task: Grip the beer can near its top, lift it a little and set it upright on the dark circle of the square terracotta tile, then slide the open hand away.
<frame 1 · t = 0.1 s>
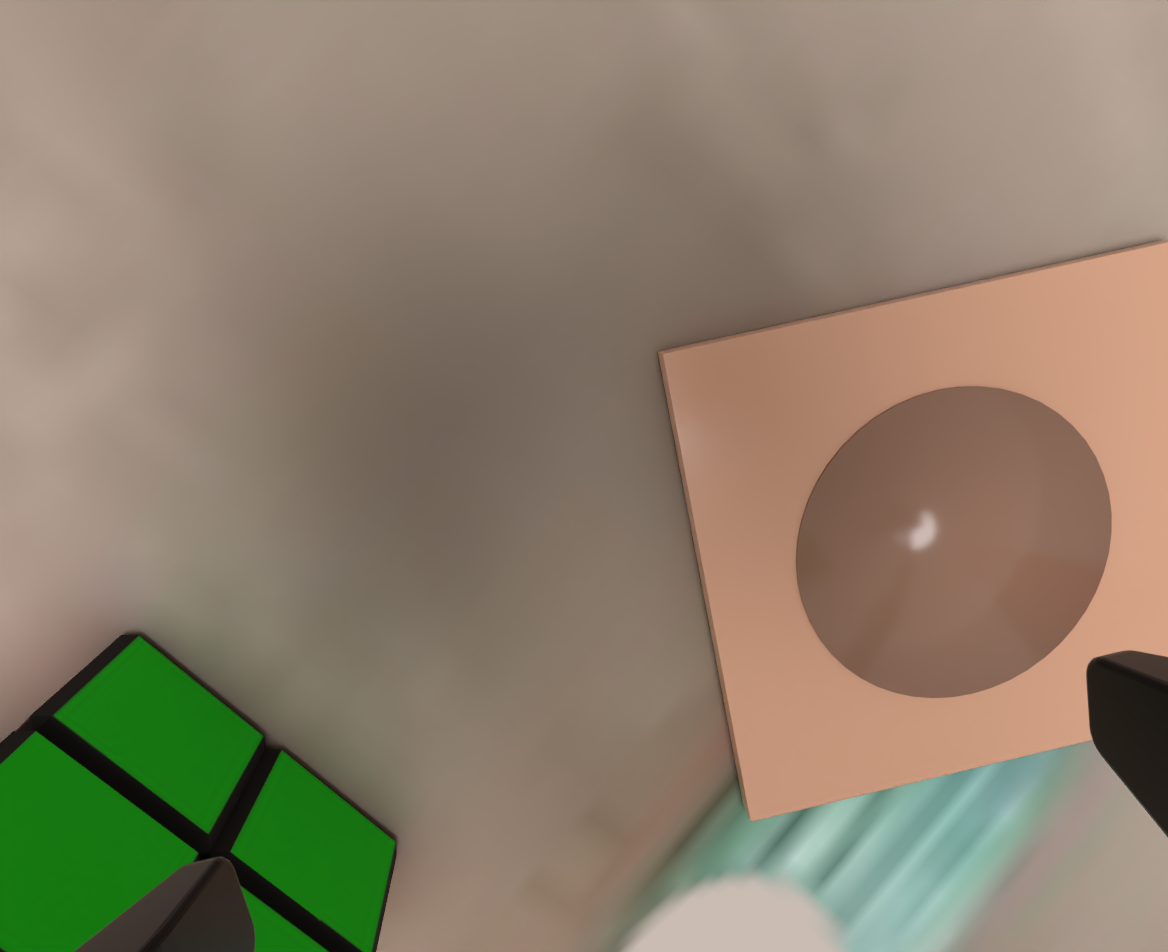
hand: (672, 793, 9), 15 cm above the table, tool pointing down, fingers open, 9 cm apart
terracotta tile: (940, 539, 24), on the table
puzzle cube: (161, 845, 25), on the table
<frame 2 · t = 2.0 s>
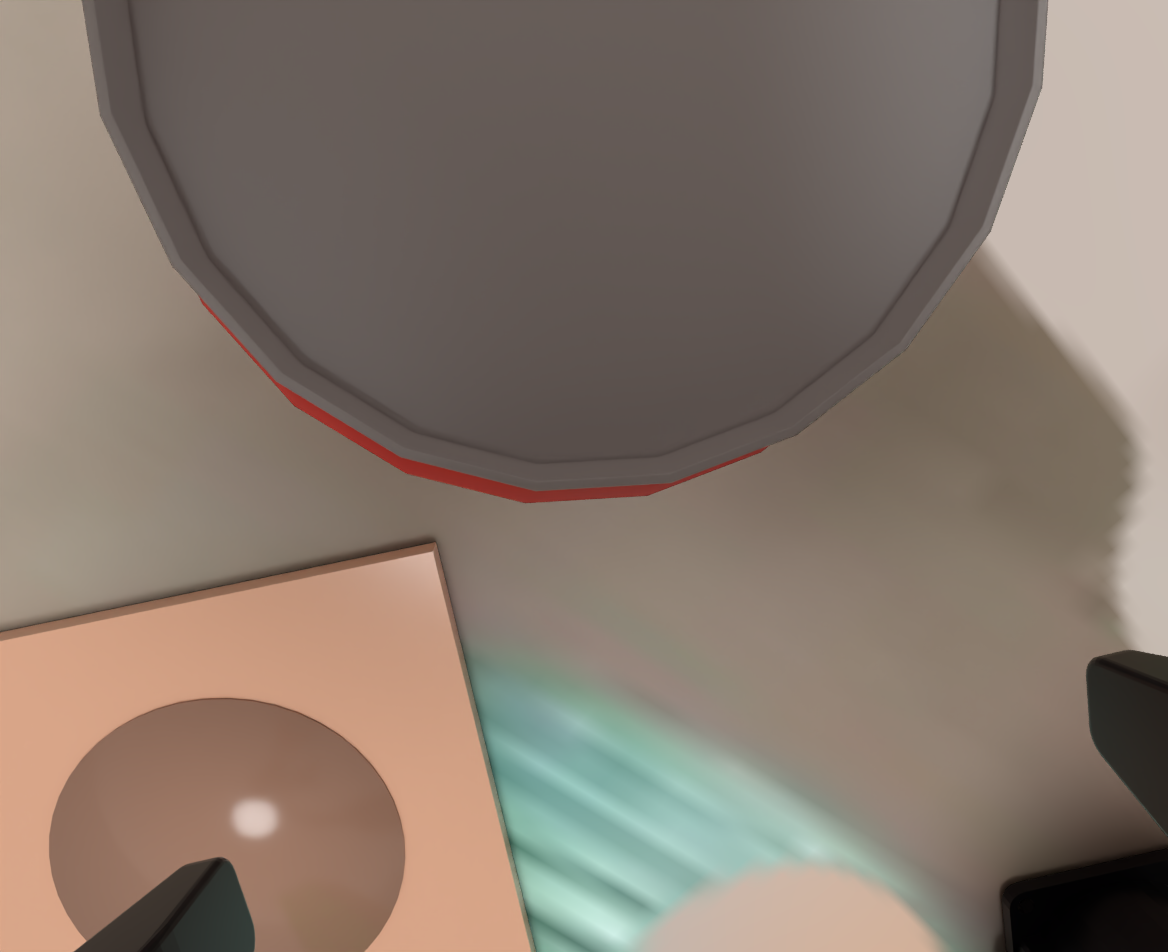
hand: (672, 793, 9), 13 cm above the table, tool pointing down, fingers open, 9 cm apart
beer can: (533, 232, 20), on the table
terracotta tile: (241, 836, 23), on the table
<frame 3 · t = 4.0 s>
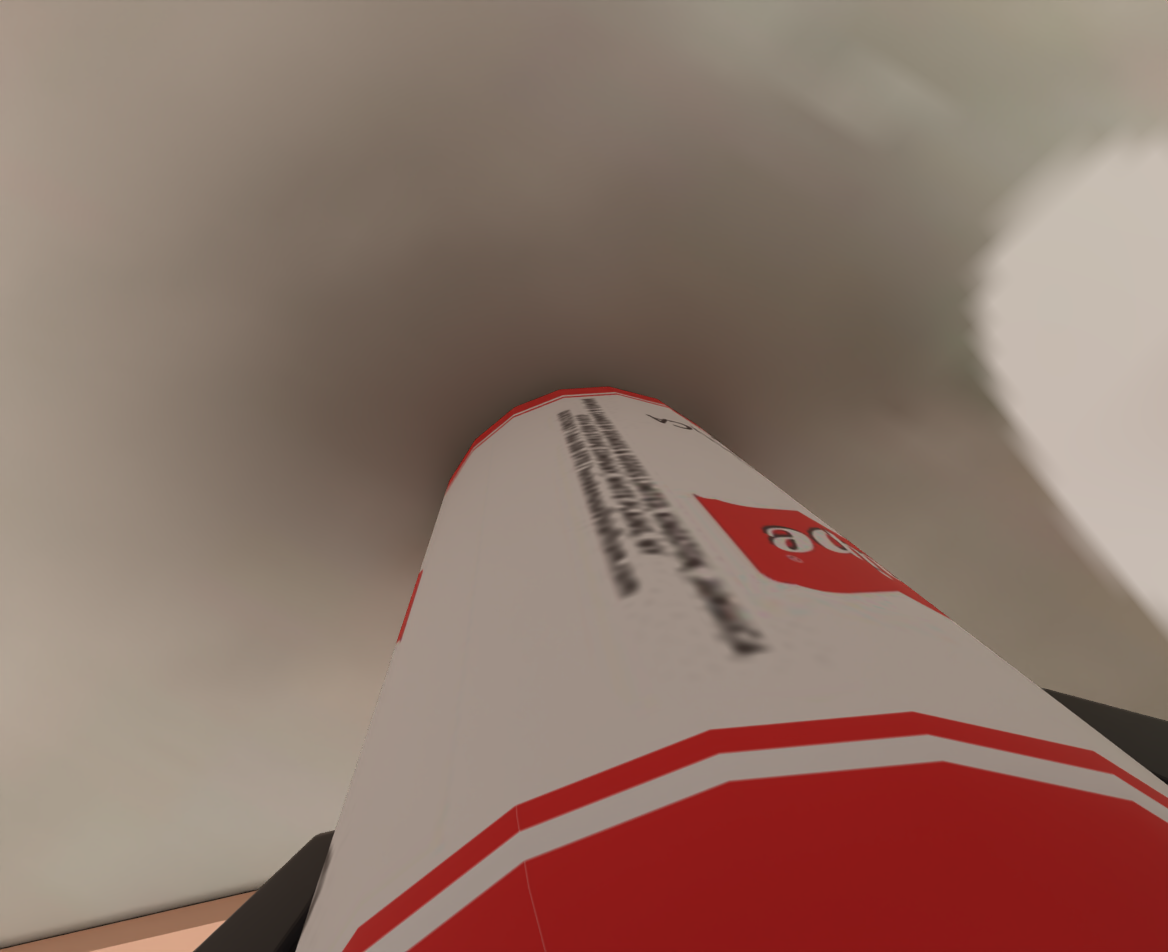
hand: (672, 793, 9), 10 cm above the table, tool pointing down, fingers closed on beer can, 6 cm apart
beer can: (587, 520, 18), on the table, touching gripper
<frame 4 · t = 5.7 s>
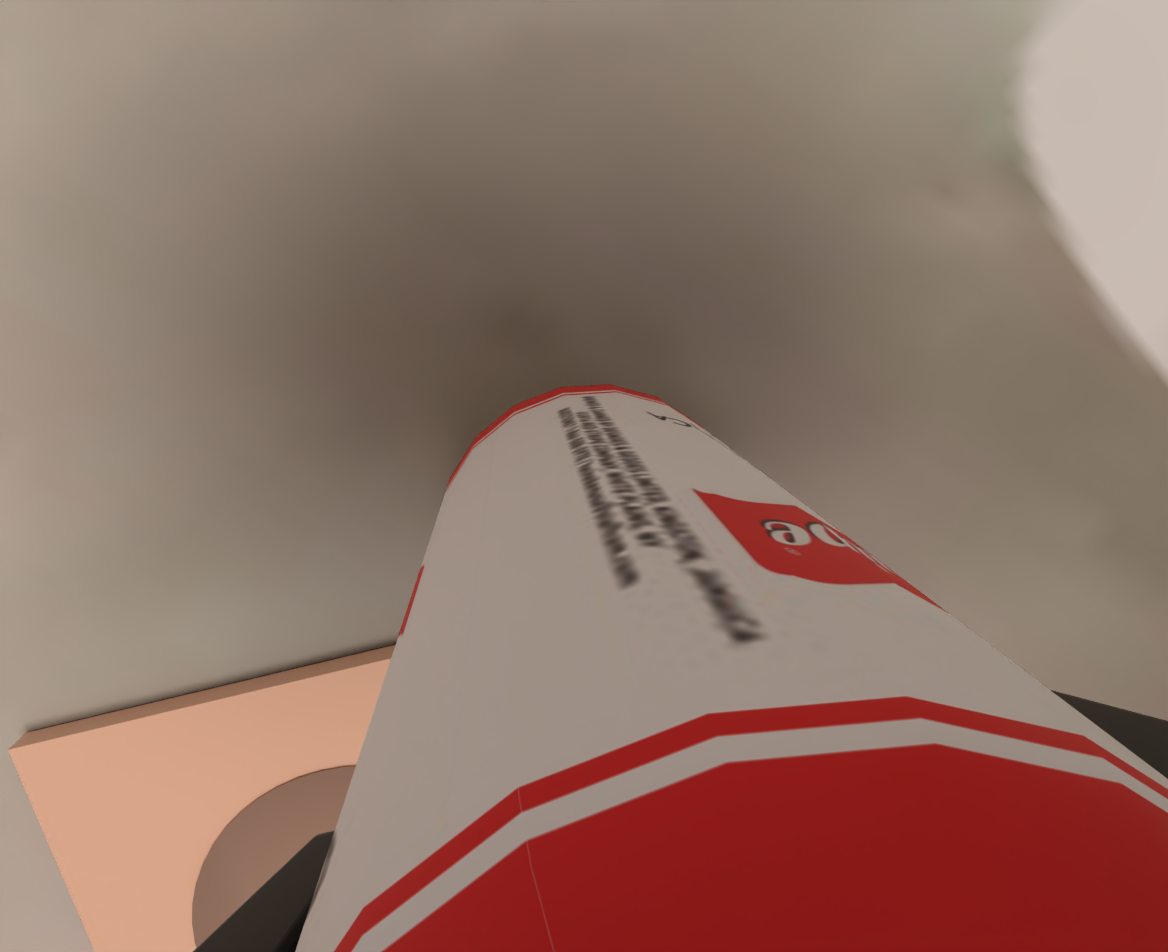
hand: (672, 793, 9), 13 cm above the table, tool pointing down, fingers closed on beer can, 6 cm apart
beer can: (586, 518, 19), point 2 cm above the table, touching gripper
terracotta tile: (374, 895, 23), on the table
when the fingers open (11 cm above the table, at t = 7.6 s): beer can stays where it is, resting on terracotta tile.
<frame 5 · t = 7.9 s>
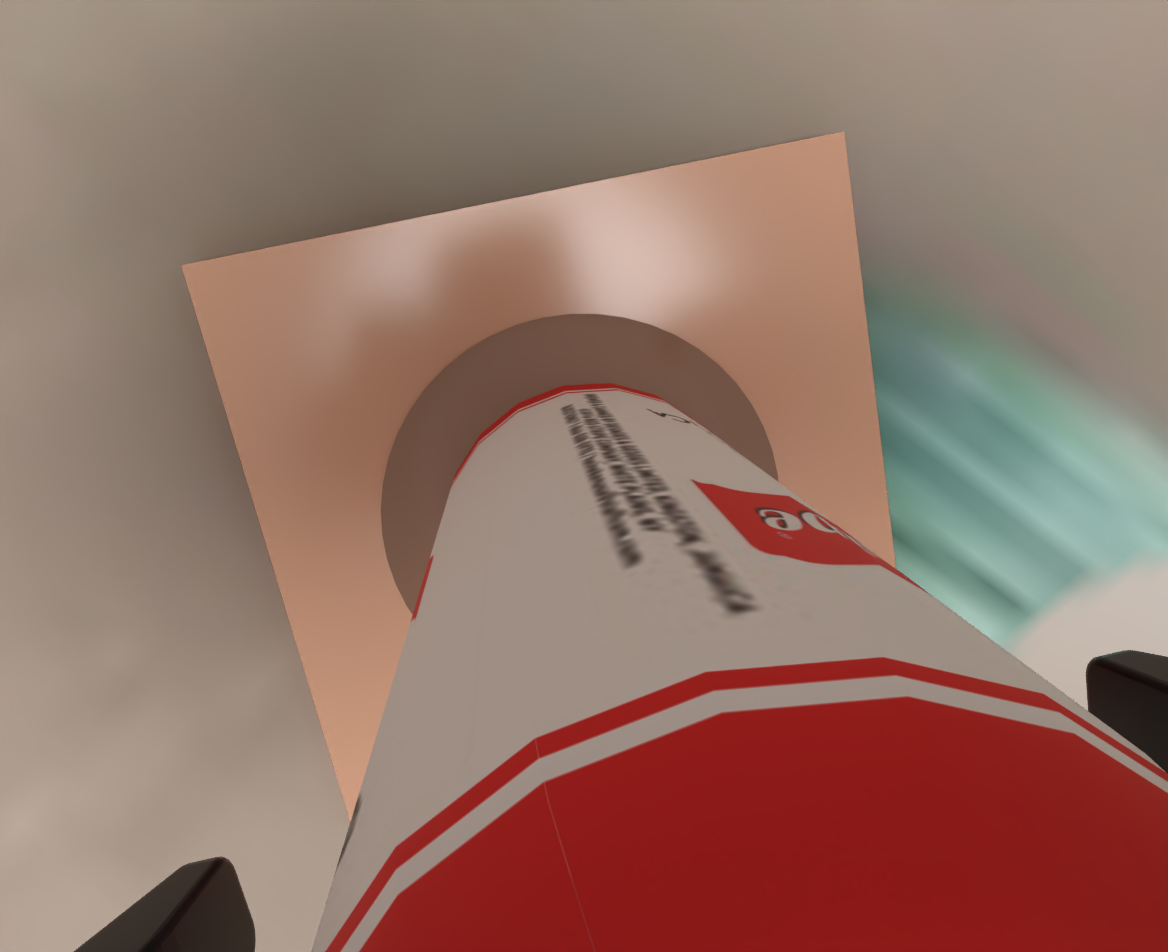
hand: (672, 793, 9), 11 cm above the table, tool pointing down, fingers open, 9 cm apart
beer can: (588, 513, 19), point 1 cm above the table, touching terracotta tile
terracotta tile: (581, 506, 20), on the table
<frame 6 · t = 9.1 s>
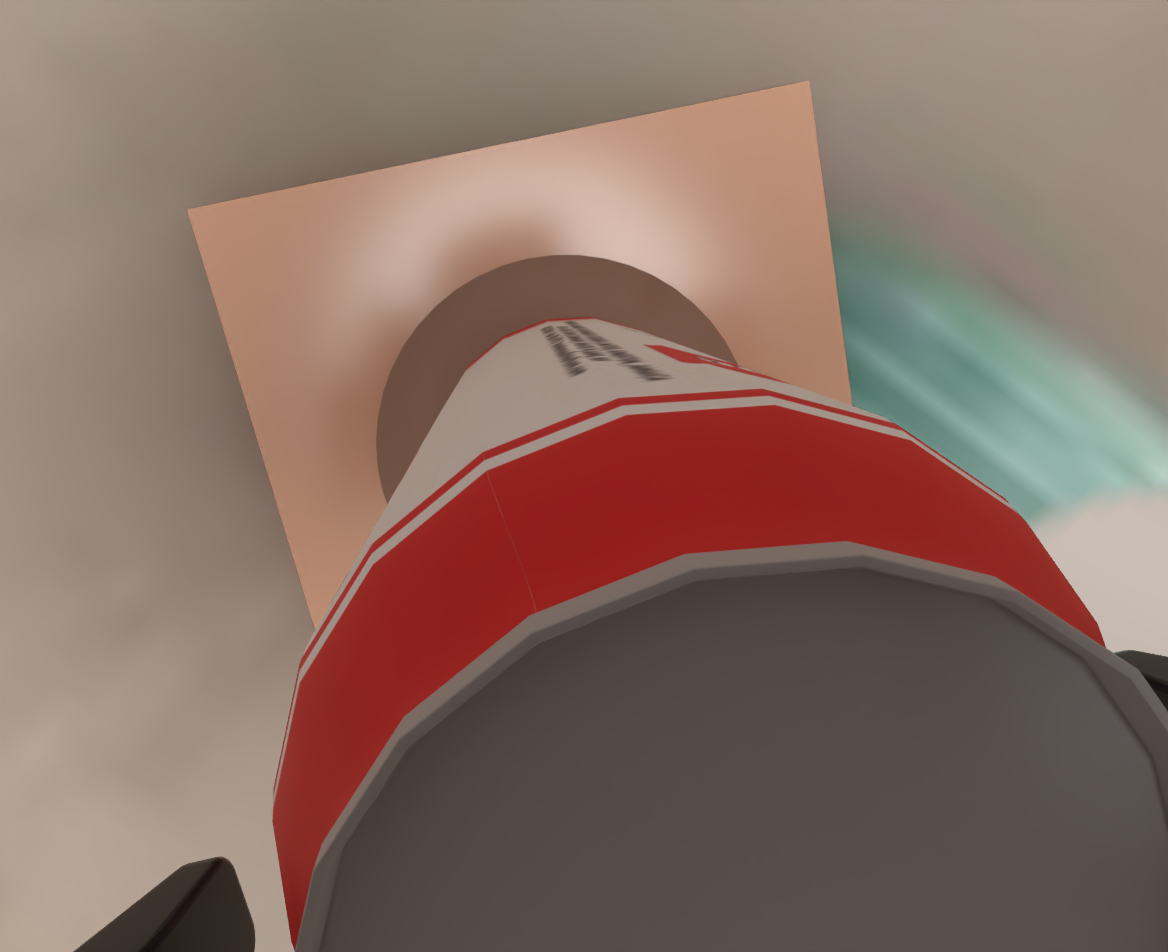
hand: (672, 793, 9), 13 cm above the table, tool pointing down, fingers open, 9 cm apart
beer can: (572, 446, 20), point 1 cm above the table, touching terracotta tile
terracotta tile: (565, 442, 21), on the table
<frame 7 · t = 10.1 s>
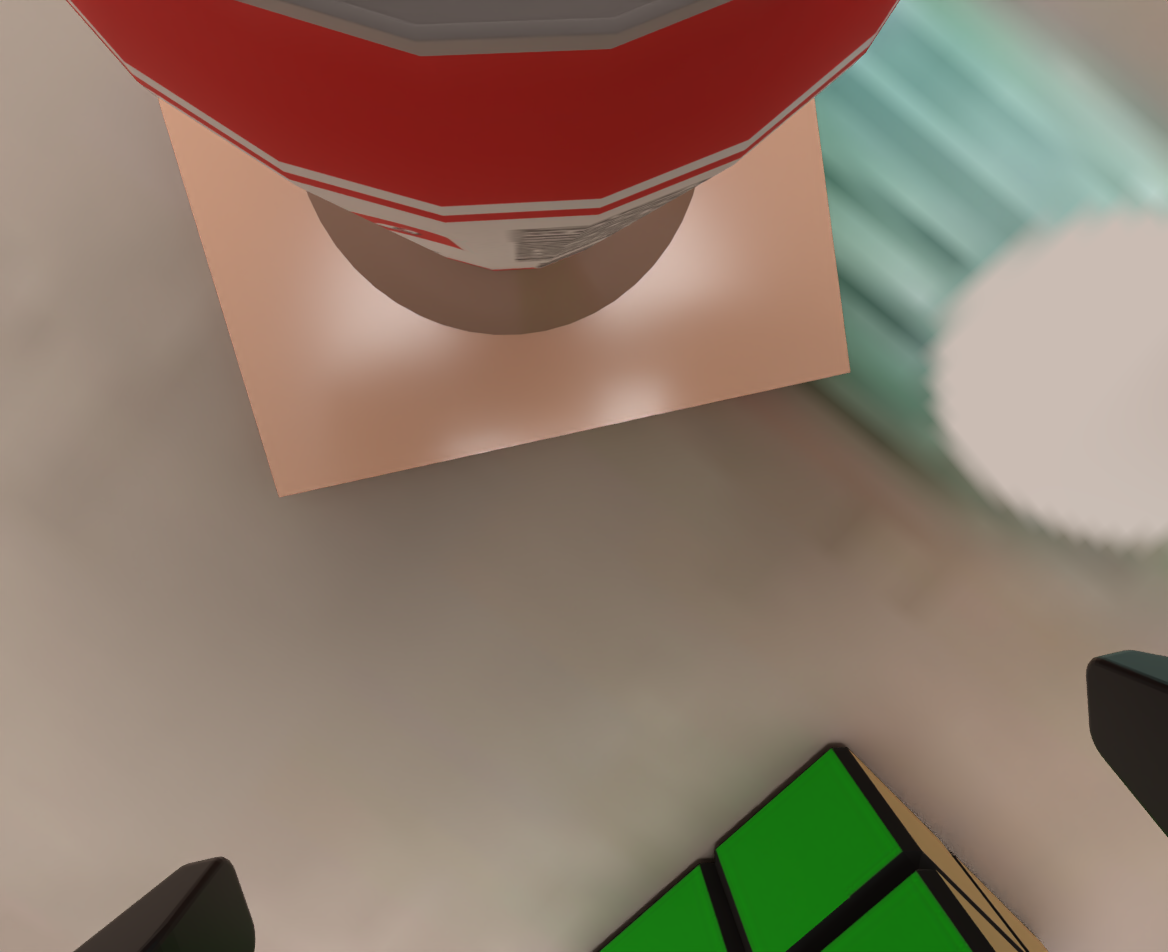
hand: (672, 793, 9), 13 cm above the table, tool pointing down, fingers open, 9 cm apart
beer can: (506, 126, 19), point 1 cm above the table, touching terracotta tile
terracotta tile: (502, 134, 19), on the table
puzzle cube: (812, 944, 25), on the table
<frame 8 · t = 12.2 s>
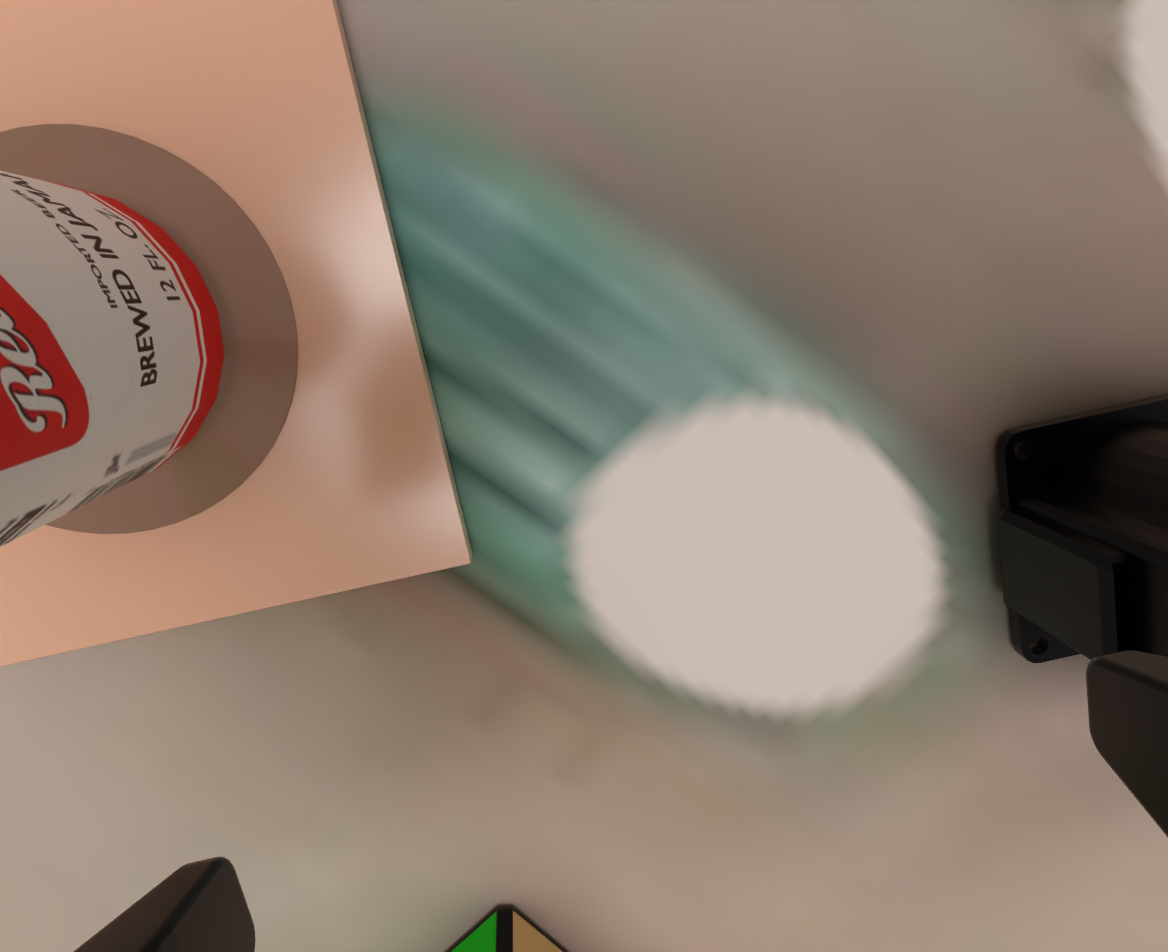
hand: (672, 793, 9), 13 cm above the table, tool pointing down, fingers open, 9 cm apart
beer can: (98, 337, 19), point 1 cm above the table, touching terracotta tile
terracotta tile: (108, 337, 19), on the table
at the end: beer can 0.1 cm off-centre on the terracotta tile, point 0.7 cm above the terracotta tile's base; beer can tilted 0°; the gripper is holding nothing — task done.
